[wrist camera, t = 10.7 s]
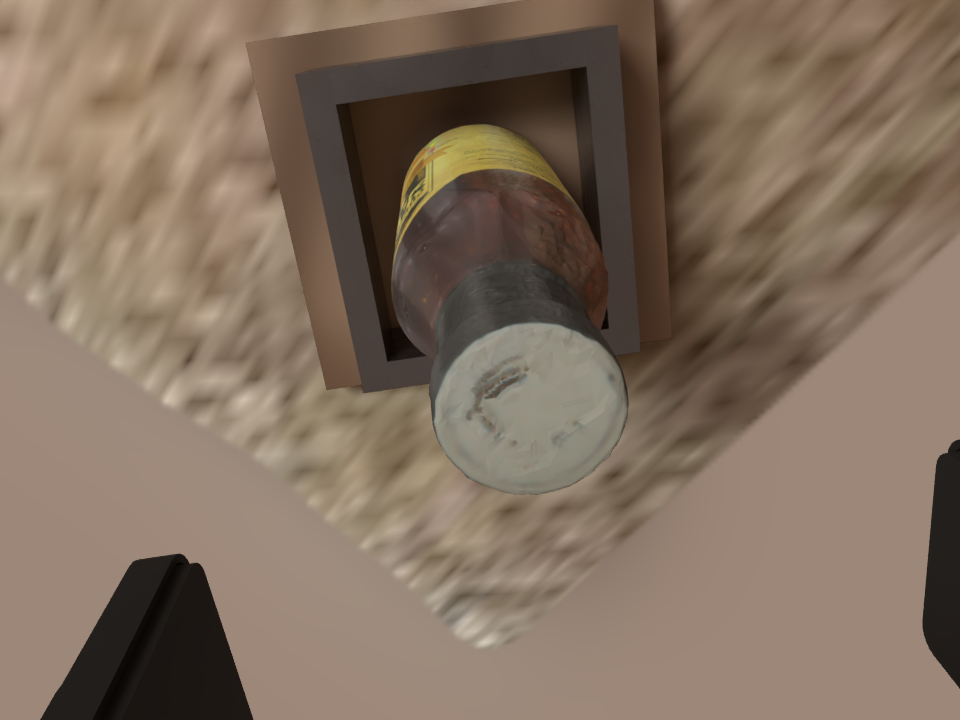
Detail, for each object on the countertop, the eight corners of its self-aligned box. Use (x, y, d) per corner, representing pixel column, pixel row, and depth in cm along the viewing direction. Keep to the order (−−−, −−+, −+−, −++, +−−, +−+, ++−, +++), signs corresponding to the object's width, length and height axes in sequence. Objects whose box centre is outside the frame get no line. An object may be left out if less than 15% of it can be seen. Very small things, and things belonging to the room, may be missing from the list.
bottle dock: (643, -18, 33) (681, -26, 28) (663, 327, 39) (698, 372, 34) (253, 42, 33) (220, 44, 28) (330, 377, 39) (314, 429, 34)
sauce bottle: (391, 130, 33) (334, 257, 15) (542, 108, 33) (673, 205, 15) (418, 283, 36) (398, 553, 17) (559, 262, 36) (689, 510, 17)
